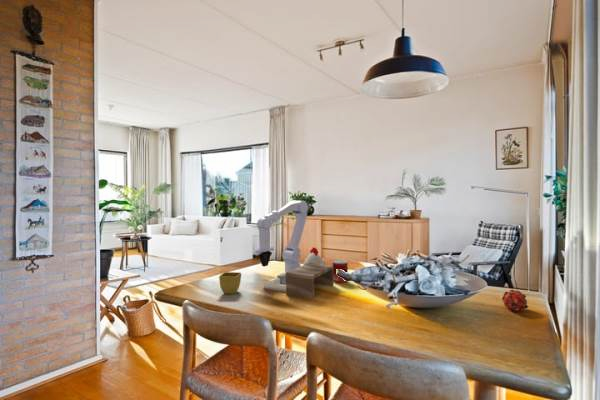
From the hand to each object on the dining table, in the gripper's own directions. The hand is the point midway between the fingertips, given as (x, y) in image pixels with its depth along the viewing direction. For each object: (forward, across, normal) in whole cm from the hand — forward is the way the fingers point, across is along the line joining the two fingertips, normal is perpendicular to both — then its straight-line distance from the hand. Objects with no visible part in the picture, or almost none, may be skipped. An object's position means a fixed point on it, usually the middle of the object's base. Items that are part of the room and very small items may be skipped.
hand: (265, 265), depth 181 cm
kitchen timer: (+10, -34, +12) cm, 37 cm away
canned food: (+10, -21, +34) cm, 41 cm away
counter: (+9, 0, +27) cm, 29 cm away
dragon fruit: (+10, -12, +113) cm, 114 cm away
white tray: (+9, 0, +11) cm, 15 cm away
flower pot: (+10, +21, -6) cm, 24 cm away
